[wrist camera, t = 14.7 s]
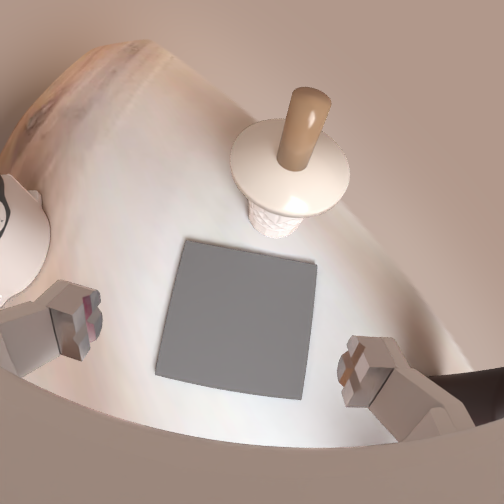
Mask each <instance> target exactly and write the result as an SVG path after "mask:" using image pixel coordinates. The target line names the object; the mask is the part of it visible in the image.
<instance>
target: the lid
mask: <svg viewBox="0 0 504 504" xmlns="http://www.w3.org/2000/svg"><path fill="white" fill-rule="evenodd" d="M330 107H331V100H330V98H329V97H328V96H327V95H326V94H325V93H323V92H321V91H319V90H317V89H314V88H310V87H300V88H297V89H296V90H294V91H293V93H292V97H291V101H290V105H289V108H288V113H287V116H286V119H269V120H264V121H260V122H257V123H255V124H253V125H251V126H249V127H247V128H246V129H245V130H243V131H242V132H241V133H240V134H239V135H238V137H237V138H236V140H235V141H234V143H233V146H232V150H231V159H230V168H231V174H232V177H233V179H234V182H235V183H236V185H237V187H238V188H239V190H240V191H241V192H242V193H243V195H244V196H245V197H246V198H247V199H249V200H250V201H251V202H252V203H254V204H255V205H257V206H258V207H260V208H262V209H264V210H266V211H268V212H270V213H273V214H276V215H280V216H284V217H290V218H308V217H313V216H317V215H320V214H322V213H325V212H326V211H328V210H330V209H331V208H332V207H334V206H335V205H336V204H337V203H338V202H339V200H340V199H341V197H342V195H343V194H344V192H345V191H346V189H347V187H348V184H349V179H350V170H349V165H348V161H347V159H346V157H345V154H344V153H343V151H342V149H341V148H340V147H339V146H338V144H337V143H336V142H335V141H334V140H333V139H332V138H331V137H329V136H328V135H327V134H326V133H324V132H323V131H321V130H322V128H323V125H324V123H325V120H326V118H327V115H328V112H329V110H330Z"/></svg>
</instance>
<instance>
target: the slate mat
mask: <svg viewBox="0 0 504 504" xmlns="http://www.w3.org/2000/svg"><path fill="white" fill-rule="evenodd" d="M316 276H317V265H315V264H310V263H304V262H299V261H294V260H288V259H283V258H277V257H272V256H267V255H261V254H256V253H251V252H245V251H240V250H235V249H229V248H224V247H219V246H213V245H208V244H203V243H197V242H192V241H187V240H186V242H185V246H184V249H183V253H182V257H181V261H180V265H179V269H178V273H177V276H176V280H175V285H174V289H173V293H172V297H171V301H170V305H169V310H168V314H167V318H166V323H165V327H164V332H163V337H162V341H161V346H160V351H159V356H158V361H157V366H156V371H155V375H158V376H162V377H166V378H170V379H174V380H178V381H183V382H187V383H192V384H197V385H201V386H206V387H212V388H217V389H222V390H228V391H234V392H240V393H247V394H253V395H261V396H268V397H277V398H286V399H296V400H301V399H302V393H303V386H304V379H305V372H306V365H307V358H308V350H309V342H310V334H311V325H312V317H313V307H314V297H315V287H316Z"/></svg>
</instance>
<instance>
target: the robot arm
mask: <svg viewBox="0 0 504 504" xmlns="http://www.w3.org/2000/svg"><path fill="white" fill-rule="evenodd" d="M49 243H50V226H49V222H48V219H47V216H46V214H45V213H44V211H43V209H42V199H41V194H40V193H39V192H38V191H37V190H30V191H27V190H26V189H25V188H24V187H23V186H22V185H21V184H20V183H19V182H18V181H17V180H16V179H15V178H14V177H13V176H12V175H10V174H7V175H0V307H1V306H2V305H3V304H4V303H5V302H6V300H7V299H8V298H9V297H11V296H13V295H15V294H17V293H19V292H21V291H22V290H24V289H25V288H26V287H27V286H28V285H29V284H30V283H31V282H32V281H33V280H34V278H35V277H36V276H37V274H38V273H39V271H40V269H41V267H42V265H43V263H44V261H45V258H46V255H47V252H48V248H49ZM100 302H101V299H100V293H99V292H98V290H96V289H92V288H89V287H85V286H82V285H79V284H75V283H72V282H68V281H65V280H57V281H56V282H55V283H54V284H53V285H52V286H51V287H50V288H48V289H47V290H46V291H45V292H44V293H43V294H42V295H41V296H40V297H39V298H38V299H36V300H35V301H34V302H31V301H29V302H26V303H22V304H19V305H16V306H13V307H9V308H6V309H3V310H0V504H504V418H502V419H499V420H496V421H493V422H490V423H487V424H483V425H480V426H475V425H474V423H473V421H472V419H471V417H470V415H469V413H468V412H467V410H466V408H465V406H464V404H463V403H462V402H461V401H459V400H458V399H456V398H455V397H454V396H452V395H451V394H449V393H448V392H447V391H445V390H444V389H443V388H441V387H440V386H438V385H437V384H436V383H434V382H433V381H431V380H430V379H429V378H427V377H426V376H424V375H423V374H422V373H420V372H419V371H417V370H416V369H415V368H410V366H409V364H408V362H407V360H406V358H405V357H404V355H403V353H402V351H401V350H400V348H399V346H398V344H397V342H396V341H395V339H393V338H389V337H366V336H354V335H352V337H351V338H350V339H349V341H348V343H347V348H348V351H347V352H346V353H344V354H343V355H342V356H341V358H340V360H339V363H338V368H337V377H338V381H339V383H340V384H341V385H342V386H344V388H343V390H342V396H343V399H344V403H345V407H365V408H368V409H369V410H370V411H371V412H372V413H373V414H374V416H375V417H376V418H377V419H378V420H379V421H380V422H381V423H382V424H383V425H384V426H385V428H386V429H387V430H388V431H389V432H390V433H391V434H392V435H393V436H394V437H395V438H396V440H397V441H398V443H390V444H381V445H371V446H358V447H338V448H293V447H273V446H260V445H249V444H240V443H232V442H224V441H217V440H211V439H205V438H199V437H194V436H189V435H184V434H179V433H174V432H170V431H165V430H161V429H157V428H153V427H149V426H145V425H142V424H138V423H134V422H131V421H128V420H124V419H121V418H118V417H115V416H111V415H108V414H105V413H102V412H100V411H97V410H94V409H91V408H88V407H86V406H83V405H81V404H78V403H75V402H73V401H70V400H68V399H66V398H63V397H61V396H58V395H56V394H54V393H52V392H49V391H47V390H45V389H43V388H41V387H39V386H37V385H34V384H32V383H30V382H28V381H26V380H24V379H23V378H22V377H24V376H25V375H27V374H29V373H31V372H32V371H34V370H36V369H38V368H39V367H41V366H43V365H45V364H46V363H48V362H50V361H52V360H53V359H55V358H57V357H59V356H60V354H61V355H64V356H67V357H70V358H73V359H76V360H79V361H83V359H84V358H85V356H86V355H87V353H88V351H89V350H90V342H93V341H95V340H96V339H97V338H98V336H99V335H100V331H101V328H102V320H103V319H102V313H101V311H100V310H99V308H98V307H97V306H98V305H99V304H100Z"/></svg>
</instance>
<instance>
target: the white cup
mask: <svg viewBox="0 0 504 504" xmlns="http://www.w3.org/2000/svg"><path fill="white" fill-rule="evenodd" d="M248 203H249V220H250V222H251V224H252V225H253V227H254V229H255V230H257V231H258V232H260V233H261V234H263V235H264V236H268V237H272V238H281V237H286V236H288V235H290V234H291V233H292V232H294V231H295V230H296V229H297V227H298V226H299V224H300V222H301V221H302V220H303V219H304V218H290V217H284V216H280V215H276V214H273V213H270V212H268V211H266V210H264V209H262V208H260V207H258V206H257V205H255V204H254V203H252V202H251V201H250V200H248Z"/></svg>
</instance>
